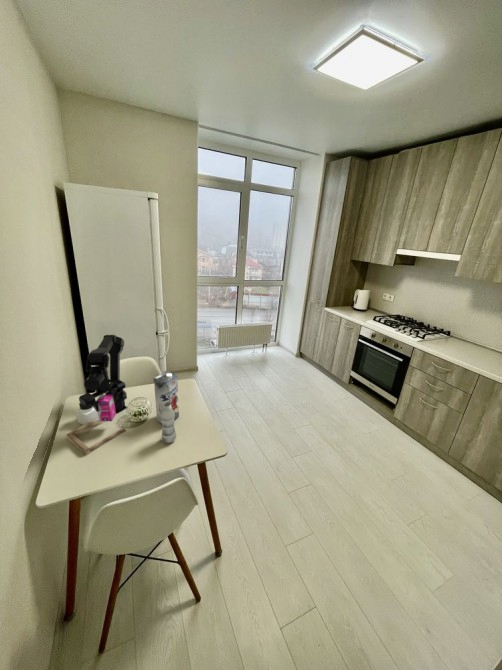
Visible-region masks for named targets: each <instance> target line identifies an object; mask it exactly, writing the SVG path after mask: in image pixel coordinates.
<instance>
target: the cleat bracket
mask: <svg viewBox="0 0 502 670" xmlns="http://www.w3.org/2000/svg"><path fill="white" fill-rule="evenodd" d="M105 422H106V421H100V422H99V418H97V419H95V420H93V421H91V422H89V423H87V424H85V425H83V424H82V425H81V426H79V427H77V428H75V429H74V430H71V431H69V432H67V433H66V438H67V440H68V441H69V442H70V443H71V444H72V445H74V447H76V448H77V449H78V450H79V451H81V452H82V454H84V455H85V456H88V455H90V454H91V453H92V452H93V451H95V450H97V449H99V448H100V447H102V446H103V445H105V444H107V443H109V442H110V441H112V440H113V439H116V438H117V437H118V436H120V435H122V434H123V433H125V432H126V428H125V427H123V428H121V429H119V430H118V431H116V432H114V433H112V434H111V435H109V436H107V437H105V438H104V439H102V440H100V441H99V442H97V443H95V444H93V445H92V446H88V445H87V444H85V443H84V442H83V441H81V439H79V438H78V437H79V436H81V435H83V434H85V433H87V432H88V431H90V430H93V429H94V428H96V427H97V426H99V425H102V424H103V423H105Z"/></svg>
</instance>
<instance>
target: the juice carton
mask: <svg viewBox="0 0 502 670" xmlns="http://www.w3.org/2000/svg"><path fill="white" fill-rule="evenodd" d="M178 377H179V375H178V373H175V372H172V371H167V370H165V371H163V372H162V373H161V374H160V375H157V376H155V377H154V378H153V384H154V396H155V408H156V410H155V411H156V421H157V423H160V424H162V423H161V419H160V413H161V411H162V410H163V409H162V407H163V403H165V402H170V403H171V408H172V409H173V410H174V412H175V417H174V421H175V420H177V419H178V418H179V417H180V415H179V414H180V410H179V408H180V406H179V405H180V404H179V385H178V382H179V381H178Z"/></svg>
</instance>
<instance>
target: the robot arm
mask: <svg viewBox="0 0 502 670" xmlns="http://www.w3.org/2000/svg"><path fill="white" fill-rule="evenodd" d="M124 347H125V340H124V339H123V338H122V337H121V336H120V337H119V336H117V334H116V335H115V334H105V335H103V339H102V340H101V342H100V344H99V345H98V347H97V348H95V349H93V350H91V351H90V352H89V353H88V355H87V356H86V363H85V372H86V373H88V372H89V375H88V377H87V378H86V380H84V381H83V387H84V389H85V390H86V389H87V390H89V391H92V392H93V391H94V393H90V392H86V393H84V394H81V395H80V396H79V397H78V401H79V402H81V403H82V404H84V405H85V406H88V405H92V406H93V407H94V409H95V410H96V411H97V412H98V411H99V409H98V402H97V399H96V398H97V397H98V398H99V396H100V395H113V396H114V404H115V411H116V414H118V413H120V412H122V411H124V410H127V408H126V407H127V405H126V401H125V400H127V399H128V394H127V391H125V390H124V389H126V387H127V385H126V383H125V382H124V381H122V380H121V370H120V369H121V362H120V361H121V360H120V359H121V353H122V352H123V350H124ZM108 368H109V372H108Z"/></svg>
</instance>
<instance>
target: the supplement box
mask: <svg viewBox="0 0 502 670" xmlns="http://www.w3.org/2000/svg"><path fill="white" fill-rule="evenodd" d="M96 401H97V402H98V409H99V411H98V418H99V422H100V421H105V422H113V420H114V418H115V416H116V414H117V413H116V411H115V404H114V396H113V395H105V394H102V395H100V396H98V398H97V399H96Z"/></svg>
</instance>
